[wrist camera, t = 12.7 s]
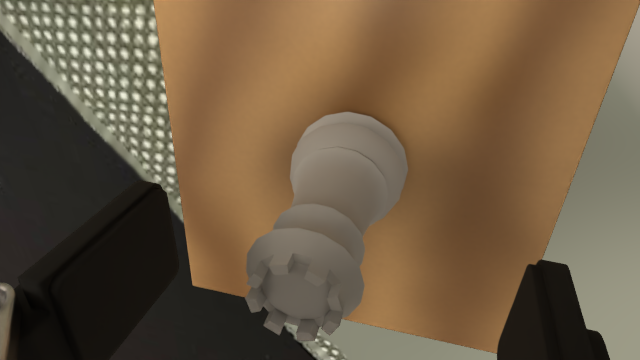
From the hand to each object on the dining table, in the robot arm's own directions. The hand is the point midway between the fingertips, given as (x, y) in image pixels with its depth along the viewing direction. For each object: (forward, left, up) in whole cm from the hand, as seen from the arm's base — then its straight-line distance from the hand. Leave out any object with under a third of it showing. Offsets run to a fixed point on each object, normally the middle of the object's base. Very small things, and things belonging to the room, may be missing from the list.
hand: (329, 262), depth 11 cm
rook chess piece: (+1, +1, -7) cm, 7 cm away
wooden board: (+1, 0, -8) cm, 8 cm away
